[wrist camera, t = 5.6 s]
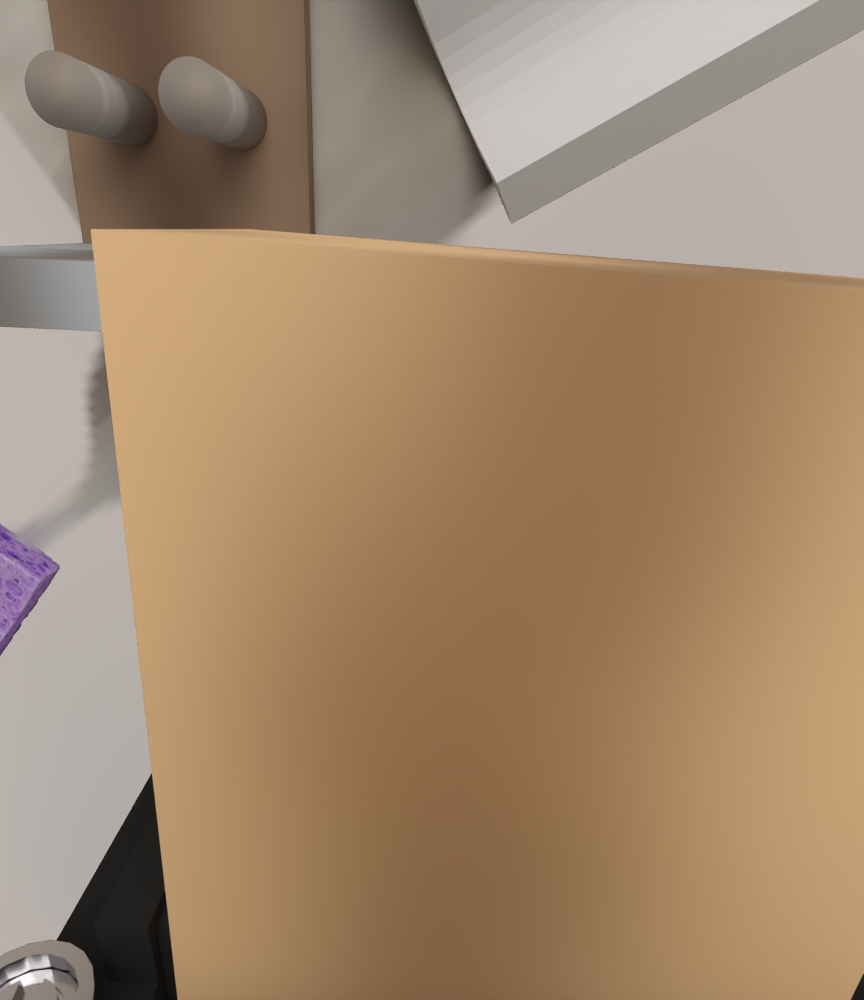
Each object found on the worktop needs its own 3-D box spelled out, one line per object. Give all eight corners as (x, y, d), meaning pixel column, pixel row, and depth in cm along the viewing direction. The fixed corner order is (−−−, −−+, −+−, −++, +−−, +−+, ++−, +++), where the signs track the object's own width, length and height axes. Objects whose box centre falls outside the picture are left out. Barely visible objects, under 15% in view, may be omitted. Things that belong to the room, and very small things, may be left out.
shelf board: (869, 278, 6) (1183, 316, 4) (593, 1172, 12) (632, 1442, 10) (248, 230, 6) (90, 228, 4) (275, 1145, 12) (223, 1406, 10)
